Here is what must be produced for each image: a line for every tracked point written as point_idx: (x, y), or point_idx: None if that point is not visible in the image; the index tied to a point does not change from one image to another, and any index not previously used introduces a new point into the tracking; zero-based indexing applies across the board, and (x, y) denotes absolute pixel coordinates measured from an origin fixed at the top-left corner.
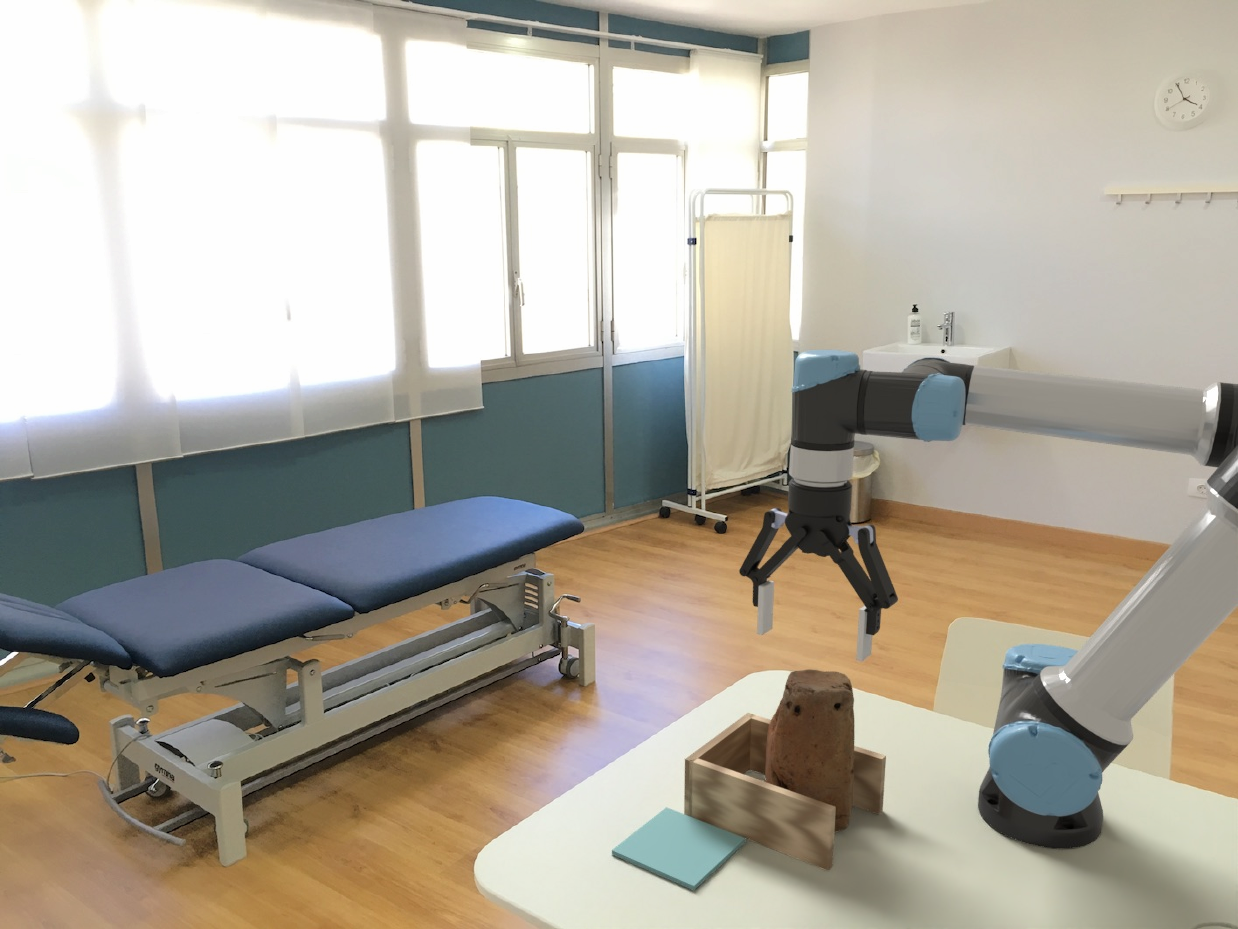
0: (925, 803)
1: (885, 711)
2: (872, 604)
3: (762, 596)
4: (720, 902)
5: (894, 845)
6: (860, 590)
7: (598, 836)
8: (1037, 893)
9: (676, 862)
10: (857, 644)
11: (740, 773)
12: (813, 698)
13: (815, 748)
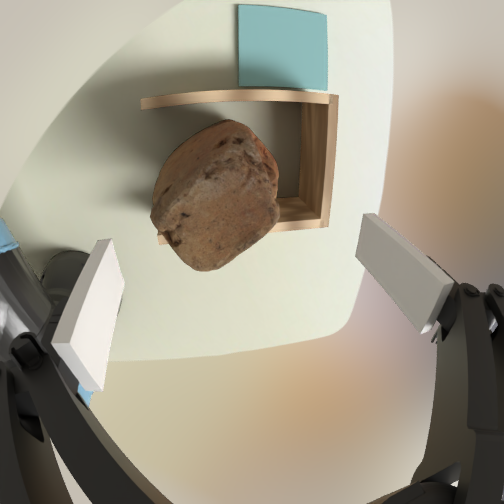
0: (144, 251)
1: (246, 339)
2: (28, 368)
3: (427, 266)
4: (209, 6)
5: (127, 176)
6: (57, 413)
7: (348, 33)
8: (30, 202)
9: (271, 22)
10: (99, 261)
11: (271, 100)
12: (200, 166)
13: (191, 150)
